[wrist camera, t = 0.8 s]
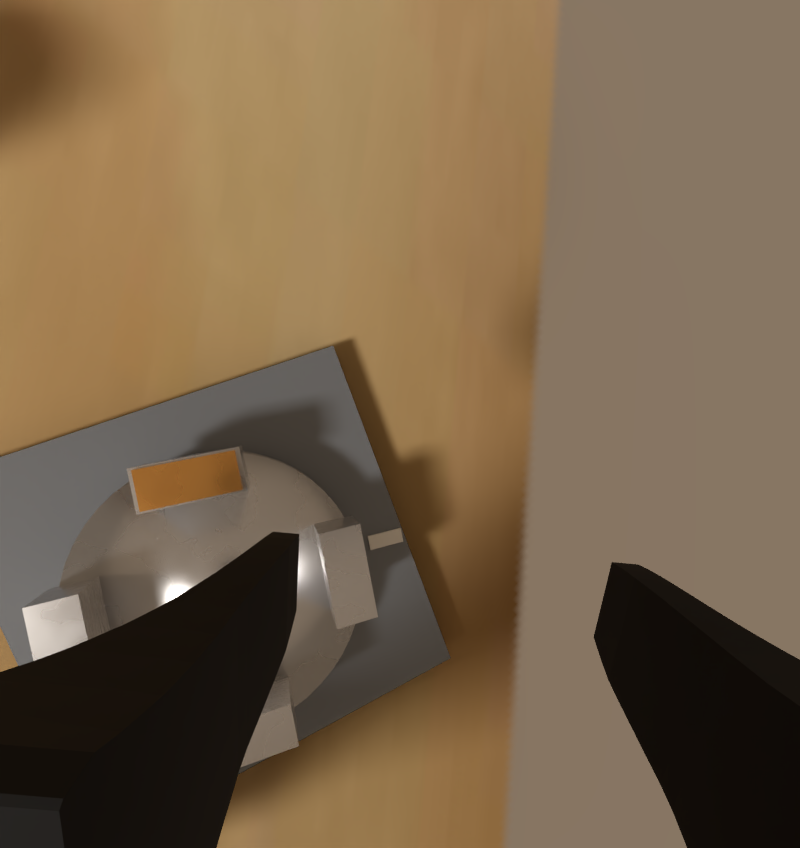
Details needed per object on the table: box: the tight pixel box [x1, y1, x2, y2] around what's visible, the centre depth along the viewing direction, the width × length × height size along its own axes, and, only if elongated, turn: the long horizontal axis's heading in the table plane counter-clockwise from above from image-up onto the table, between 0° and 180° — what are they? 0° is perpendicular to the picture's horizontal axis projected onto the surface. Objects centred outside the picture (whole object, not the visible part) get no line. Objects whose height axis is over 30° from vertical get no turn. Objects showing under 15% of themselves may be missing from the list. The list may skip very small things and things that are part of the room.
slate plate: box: [0, 346, 450, 774], centre depth 26 cm, size 20×20×2 cm
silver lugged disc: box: [22, 445, 378, 767], centre depth 23 cm, size 15×15×5 cm
